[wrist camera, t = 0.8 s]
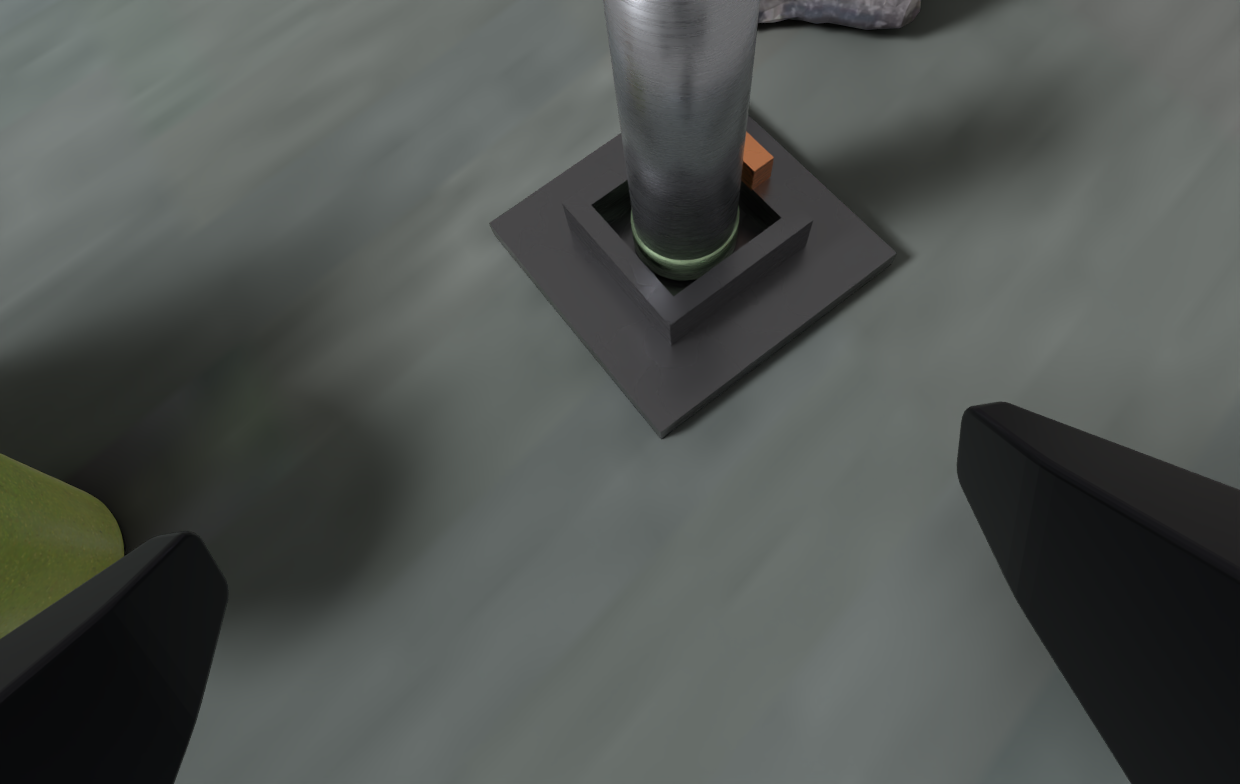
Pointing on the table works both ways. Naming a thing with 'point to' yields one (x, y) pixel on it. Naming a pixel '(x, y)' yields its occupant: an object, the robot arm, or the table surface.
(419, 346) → the table surface
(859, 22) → the geode
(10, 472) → the plant pot
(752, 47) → the column
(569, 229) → the stand base
